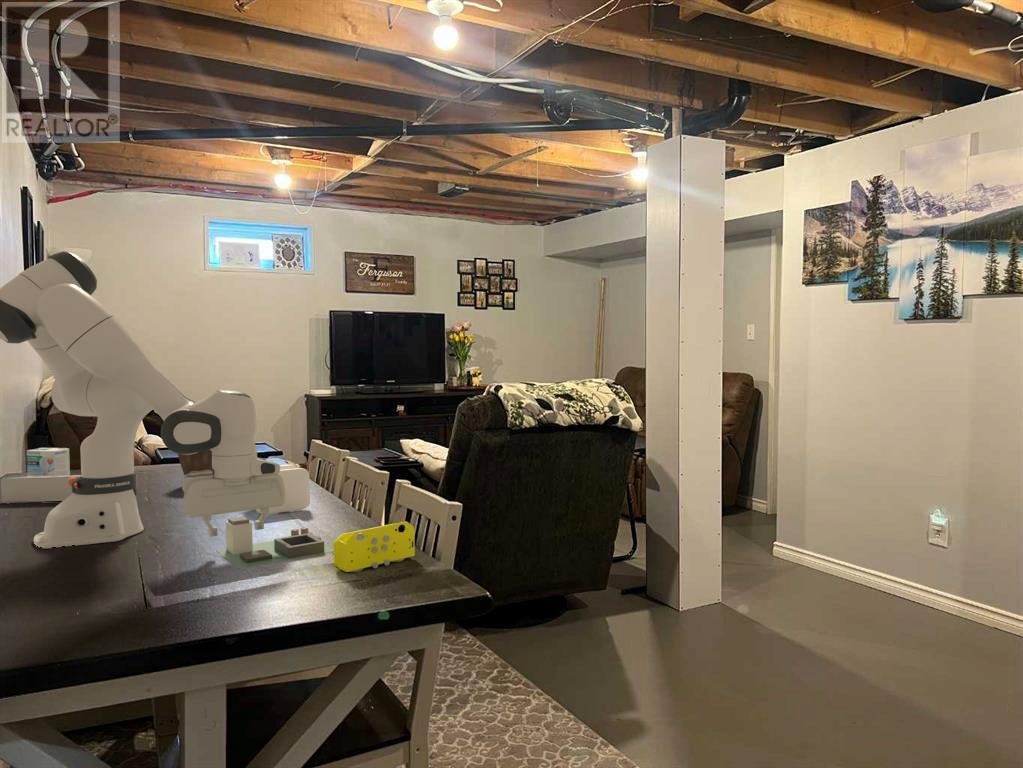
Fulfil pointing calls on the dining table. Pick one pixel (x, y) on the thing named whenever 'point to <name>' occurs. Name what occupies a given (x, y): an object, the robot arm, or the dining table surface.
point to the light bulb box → (48, 462)
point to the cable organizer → (293, 489)
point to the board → (279, 550)
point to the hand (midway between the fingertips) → (236, 532)
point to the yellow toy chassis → (374, 547)
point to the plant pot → (196, 461)
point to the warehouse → (36, 488)
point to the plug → (239, 535)
